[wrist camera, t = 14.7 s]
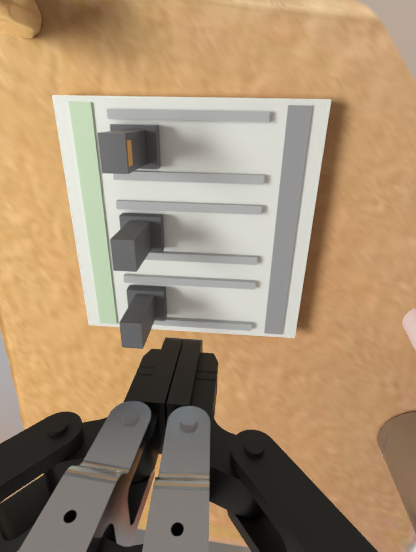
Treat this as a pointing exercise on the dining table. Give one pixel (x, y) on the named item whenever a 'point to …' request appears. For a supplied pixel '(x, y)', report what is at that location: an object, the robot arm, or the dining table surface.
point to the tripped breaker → (129, 148)
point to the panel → (195, 212)
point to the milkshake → (20, 18)
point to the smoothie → (410, 326)
